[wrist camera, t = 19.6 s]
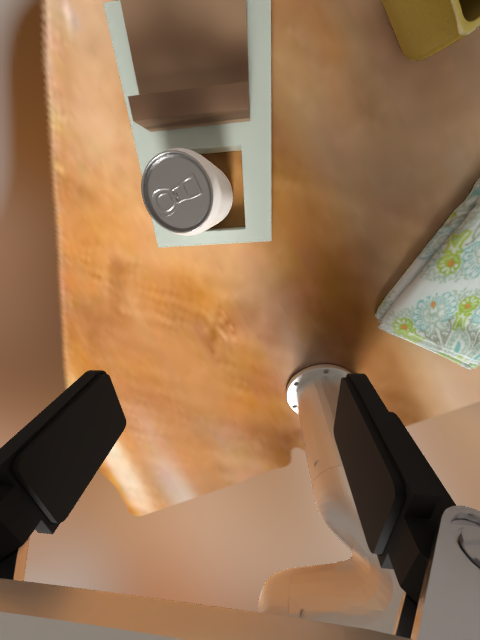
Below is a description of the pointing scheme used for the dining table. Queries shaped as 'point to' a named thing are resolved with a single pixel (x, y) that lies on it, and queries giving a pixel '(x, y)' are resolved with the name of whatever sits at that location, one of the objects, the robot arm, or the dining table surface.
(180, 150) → the can
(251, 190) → the well board
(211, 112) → the lid
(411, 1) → the flower pot
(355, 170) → the dining table surface
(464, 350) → the towel
